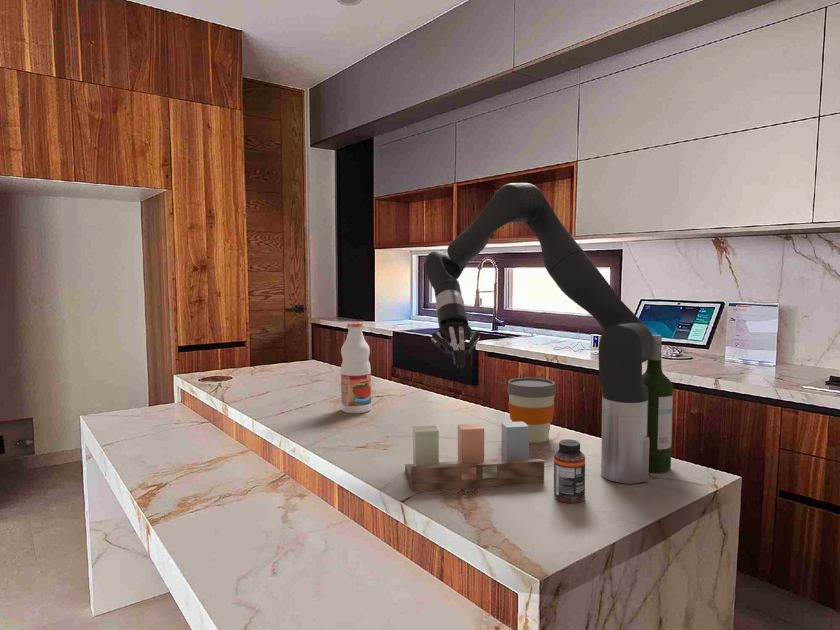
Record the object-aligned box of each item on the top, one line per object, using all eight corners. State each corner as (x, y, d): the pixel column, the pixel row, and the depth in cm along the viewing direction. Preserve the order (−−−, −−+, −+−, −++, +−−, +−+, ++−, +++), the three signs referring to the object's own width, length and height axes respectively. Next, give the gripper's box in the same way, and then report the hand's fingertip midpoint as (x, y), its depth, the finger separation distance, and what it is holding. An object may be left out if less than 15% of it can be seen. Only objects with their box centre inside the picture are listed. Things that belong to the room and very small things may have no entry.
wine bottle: (639, 459, 135) (642, 332, 132) (675, 466, 130) (679, 334, 127) (627, 468, 129) (630, 335, 126) (664, 476, 124) (668, 338, 121)
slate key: (522, 460, 130) (523, 421, 129) (528, 466, 126) (529, 426, 125) (501, 461, 129) (501, 422, 128) (506, 467, 125) (506, 427, 124)
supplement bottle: (561, 489, 117) (562, 435, 116) (589, 497, 113) (590, 441, 112) (548, 499, 112) (548, 442, 112) (577, 507, 109) (577, 448, 108)
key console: (525, 463, 133) (525, 443, 132) (544, 483, 121) (544, 461, 120) (405, 470, 129) (405, 450, 128) (412, 491, 117) (412, 469, 116)
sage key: (435, 465, 127) (435, 425, 126) (438, 471, 123) (438, 430, 122) (413, 466, 126) (412, 426, 126) (415, 473, 122) (415, 431, 122)
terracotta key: (479, 462, 128) (479, 423, 128) (484, 469, 125) (484, 428, 124) (457, 464, 128) (457, 424, 127) (461, 470, 124) (461, 429, 123)
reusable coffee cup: (555, 446, 145) (556, 387, 144) (505, 443, 148) (506, 386, 146) (554, 432, 157) (555, 378, 156) (508, 429, 160) (508, 376, 159)
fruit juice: (353, 405, 190) (351, 321, 187) (377, 408, 185) (375, 322, 183) (335, 411, 182) (333, 323, 179) (360, 415, 177) (358, 325, 175)
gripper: (427, 302, 146) (435, 357, 135) (478, 301, 148) (490, 356, 137) (424, 320, 152) (432, 375, 141) (473, 320, 154) (484, 373, 143)
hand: (460, 365), depth 139 cm, fingers closed
